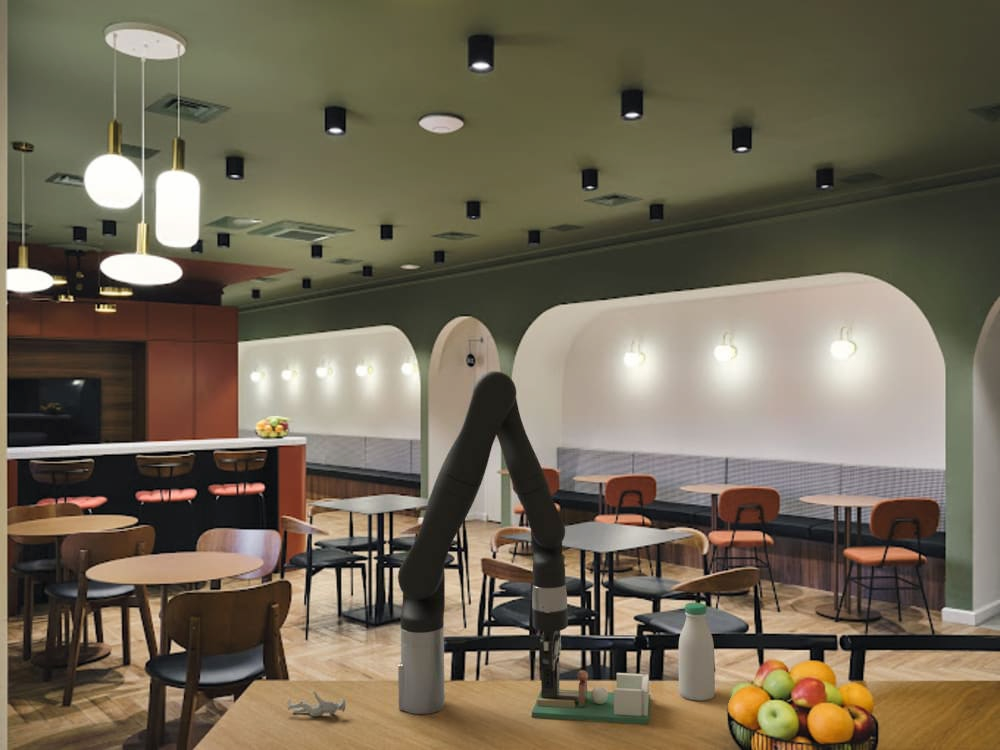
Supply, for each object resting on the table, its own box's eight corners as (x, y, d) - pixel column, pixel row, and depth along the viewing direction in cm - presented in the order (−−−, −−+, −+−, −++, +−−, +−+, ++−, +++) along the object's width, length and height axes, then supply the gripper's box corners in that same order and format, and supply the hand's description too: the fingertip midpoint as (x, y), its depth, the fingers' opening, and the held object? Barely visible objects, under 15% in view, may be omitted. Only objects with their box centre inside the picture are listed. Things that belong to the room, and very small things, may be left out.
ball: (590, 706, 184) (590, 689, 184) (591, 700, 188) (591, 683, 188) (607, 707, 184) (607, 690, 184) (608, 701, 187) (608, 684, 187)
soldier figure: (300, 712, 189) (351, 695, 188) (300, 733, 185) (352, 716, 184) (283, 696, 184) (336, 679, 183) (283, 718, 180) (337, 701, 179)
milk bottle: (715, 702, 188) (714, 610, 188) (679, 700, 190) (677, 608, 190) (714, 690, 196) (712, 600, 196) (679, 688, 197) (677, 599, 197)
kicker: (540, 704, 185) (540, 666, 185) (544, 693, 191) (544, 657, 191) (586, 706, 183) (586, 668, 183) (589, 696, 189) (589, 659, 189)
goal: (614, 714, 180) (613, 689, 180) (617, 695, 190) (616, 672, 190) (647, 716, 179) (647, 691, 179) (648, 697, 189) (648, 674, 189)
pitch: (531, 717, 181) (531, 706, 181) (541, 692, 195) (541, 683, 195) (648, 724, 177) (648, 713, 177) (650, 699, 191) (650, 689, 191)
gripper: (537, 596, 195) (539, 669, 195) (527, 613, 181) (529, 691, 181) (570, 597, 194) (572, 670, 194) (563, 614, 180) (565, 693, 180)
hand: (551, 680), depth 188 cm, fingers open, 8 cm apart
